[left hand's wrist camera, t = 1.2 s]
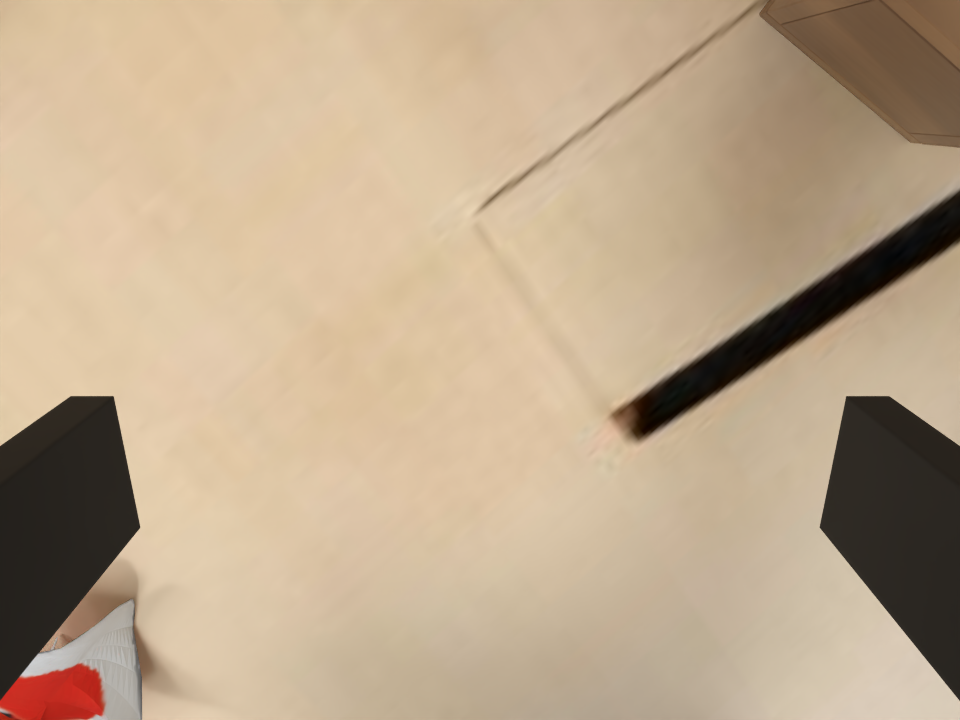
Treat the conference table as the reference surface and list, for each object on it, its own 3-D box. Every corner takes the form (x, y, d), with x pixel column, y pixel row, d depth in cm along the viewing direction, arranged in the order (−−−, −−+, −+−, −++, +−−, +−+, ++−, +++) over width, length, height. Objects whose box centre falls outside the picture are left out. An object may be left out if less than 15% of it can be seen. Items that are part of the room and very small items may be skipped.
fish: (-168, 694, 39) (-212, 859, 31) (78, 515, 42) (93, 623, 35) (-15, 760, 45) (-20, 909, 38) (188, 600, 49) (220, 706, 41)
